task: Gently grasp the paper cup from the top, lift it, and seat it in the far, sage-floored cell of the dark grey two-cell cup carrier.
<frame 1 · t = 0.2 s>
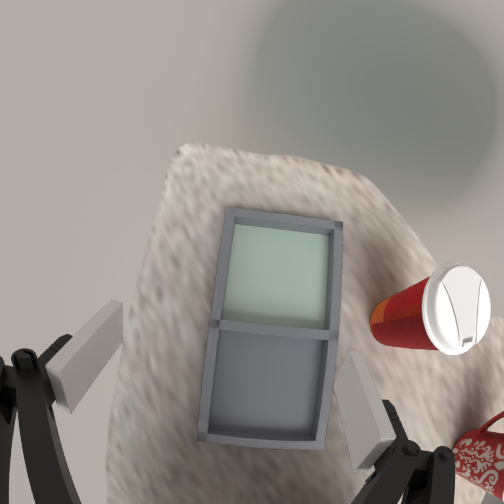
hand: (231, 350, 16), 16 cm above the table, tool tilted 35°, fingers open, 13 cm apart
mug: (467, 441, 26), on the table
cup carrier: (272, 331, 31), on the table
paper cup: (389, 322, 32), on the table
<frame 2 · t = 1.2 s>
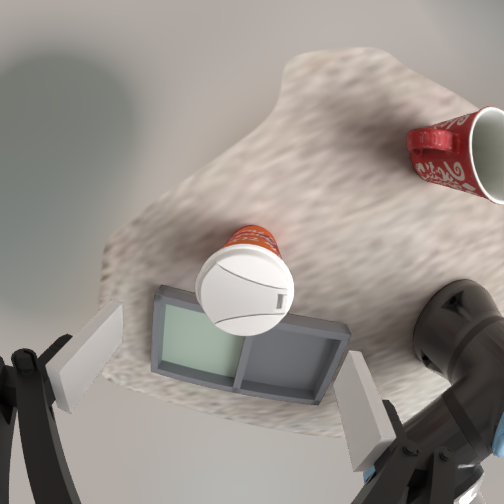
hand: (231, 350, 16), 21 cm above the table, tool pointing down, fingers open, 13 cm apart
mug: (421, 151, 31), on the table
cup carrier: (245, 347, 39), on the table
paper cup: (252, 247, 35), on the table
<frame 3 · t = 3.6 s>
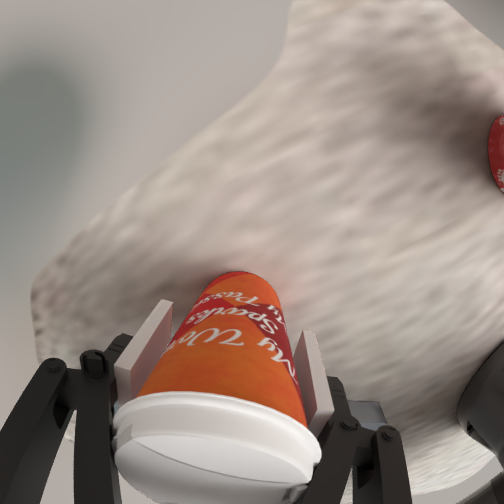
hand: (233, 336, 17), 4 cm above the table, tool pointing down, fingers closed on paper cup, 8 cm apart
mug: (499, 149, 16), on the table
cup carrier: (233, 432, 25), on the table
paper cup: (239, 306, 21), on the table, touching gripper
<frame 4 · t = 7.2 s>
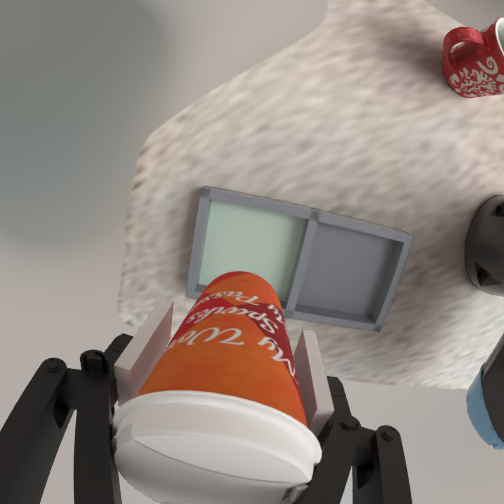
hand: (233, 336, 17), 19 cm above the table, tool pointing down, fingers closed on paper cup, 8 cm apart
mug: (451, 70, 27), on the table
cup carrier: (299, 259, 36), on the table
paper cup: (239, 306, 21), point 15 cm above the table, touching gripper
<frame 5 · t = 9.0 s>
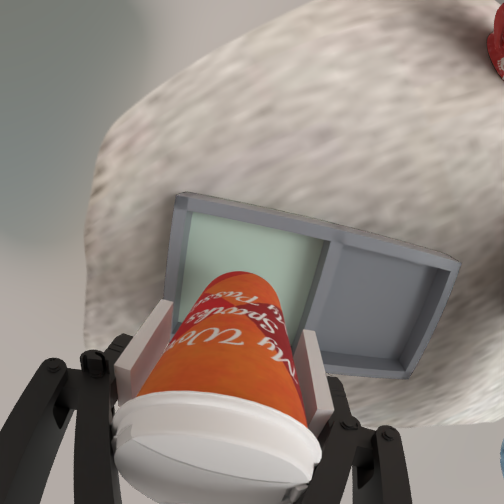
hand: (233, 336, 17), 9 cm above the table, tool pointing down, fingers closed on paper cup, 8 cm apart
mug: (496, 54, 17), on the table
cup carrier: (312, 293, 26), on the table
paper cup: (239, 306, 21), point 5 cm above the table, touching gripper
when the fingers open (6 cm above the table, at t = 10.6 s): paper cup drops 1 cm, resting on cup carrier.
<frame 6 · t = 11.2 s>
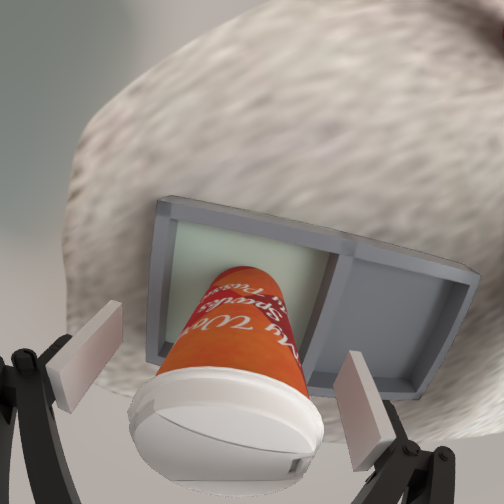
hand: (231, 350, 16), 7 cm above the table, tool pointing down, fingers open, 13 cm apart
cup carrier: (316, 310, 23), on the table
paper cup: (244, 299, 22), resting on cup carrier
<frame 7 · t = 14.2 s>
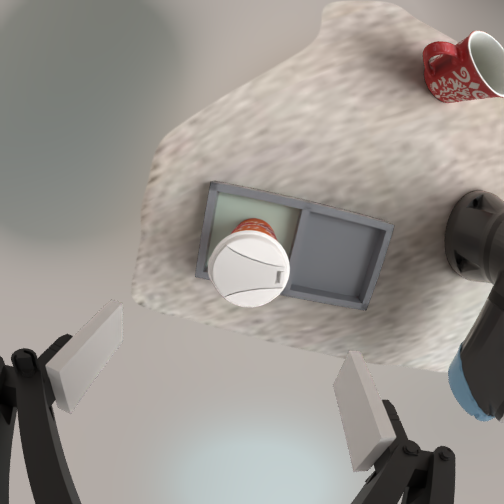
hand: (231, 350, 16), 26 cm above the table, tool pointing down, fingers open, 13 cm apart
mug: (432, 78, 32), on the table
cup carrier: (294, 245, 41), on the table
paper cup: (253, 237, 40), resting on cup carrier
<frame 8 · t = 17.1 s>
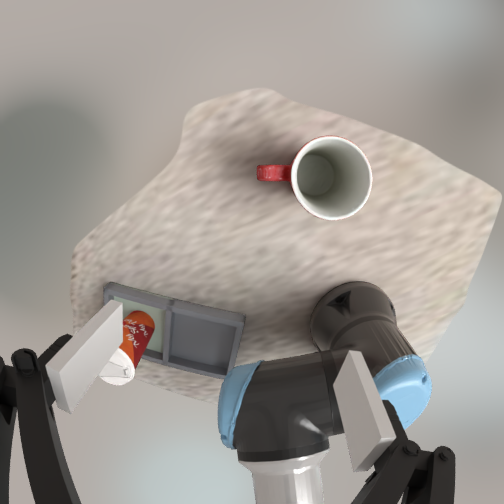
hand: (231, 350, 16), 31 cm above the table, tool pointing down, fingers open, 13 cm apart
mug: (301, 172, 42), on the table
cup carrier: (171, 329, 51), on the table
paper cup: (141, 322, 50), resting on cup carrier
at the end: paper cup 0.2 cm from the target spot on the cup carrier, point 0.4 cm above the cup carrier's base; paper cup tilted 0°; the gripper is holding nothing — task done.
